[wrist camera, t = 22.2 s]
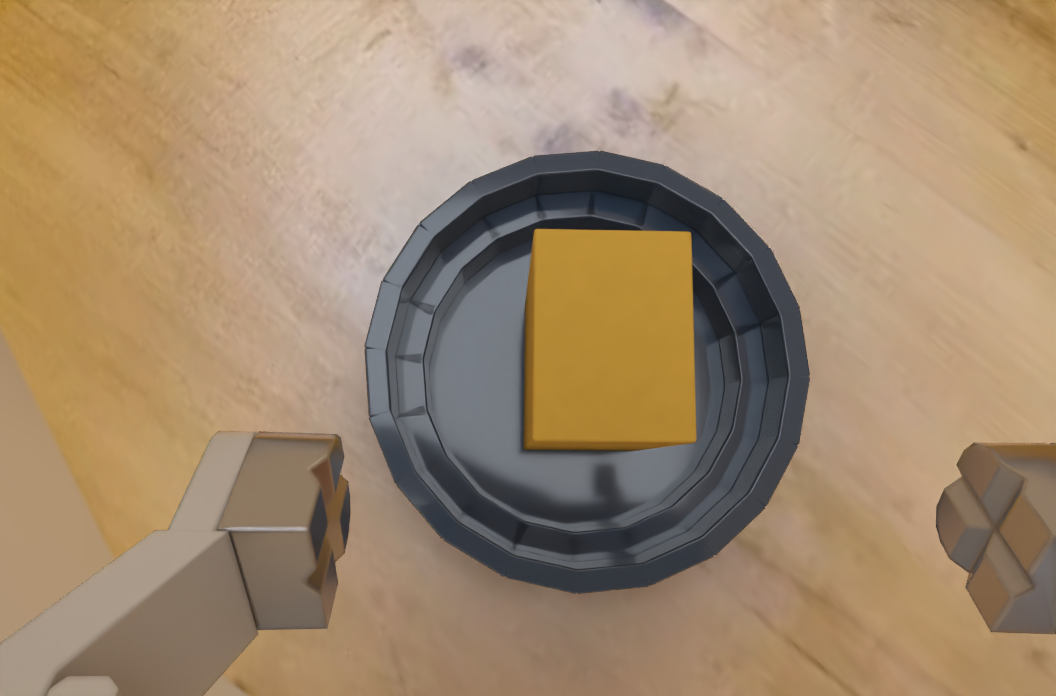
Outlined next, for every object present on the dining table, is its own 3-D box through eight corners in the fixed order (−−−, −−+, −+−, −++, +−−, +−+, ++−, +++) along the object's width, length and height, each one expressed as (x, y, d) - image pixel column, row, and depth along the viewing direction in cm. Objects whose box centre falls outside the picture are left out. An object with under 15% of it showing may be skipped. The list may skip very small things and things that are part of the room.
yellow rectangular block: (523, 449, 31) (532, 441, 21) (524, 302, 32) (534, 227, 22) (635, 450, 31) (697, 443, 21) (633, 304, 32) (692, 230, 22)
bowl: (314, 444, 31) (278, 440, 26) (510, 134, 34) (511, 77, 29) (647, 646, 30) (675, 681, 26) (825, 315, 33) (882, 287, 28)
